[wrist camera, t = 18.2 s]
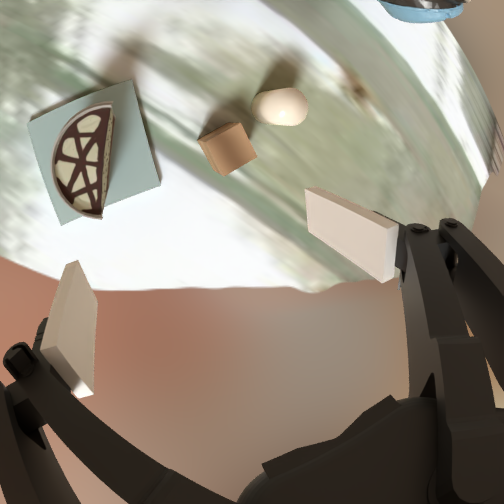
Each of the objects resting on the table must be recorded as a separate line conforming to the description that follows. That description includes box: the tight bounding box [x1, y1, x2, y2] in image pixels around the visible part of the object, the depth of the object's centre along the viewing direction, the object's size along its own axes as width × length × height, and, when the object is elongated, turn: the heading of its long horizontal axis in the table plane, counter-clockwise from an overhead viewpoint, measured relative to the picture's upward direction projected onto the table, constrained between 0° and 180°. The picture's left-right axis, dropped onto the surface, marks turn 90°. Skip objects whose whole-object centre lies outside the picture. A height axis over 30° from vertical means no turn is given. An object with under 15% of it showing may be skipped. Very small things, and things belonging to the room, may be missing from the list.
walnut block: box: [197, 123, 257, 176], centre depth 37 cm, size 5×5×5 cm
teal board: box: [27, 79, 161, 226], centre depth 32 cm, size 15×15×1 cm
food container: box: [50, 101, 116, 220], centre depth 27 cm, size 12×6×10 cm, turn 169°
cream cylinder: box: [251, 88, 308, 126], centre depth 36 cm, size 5×5×7 cm
